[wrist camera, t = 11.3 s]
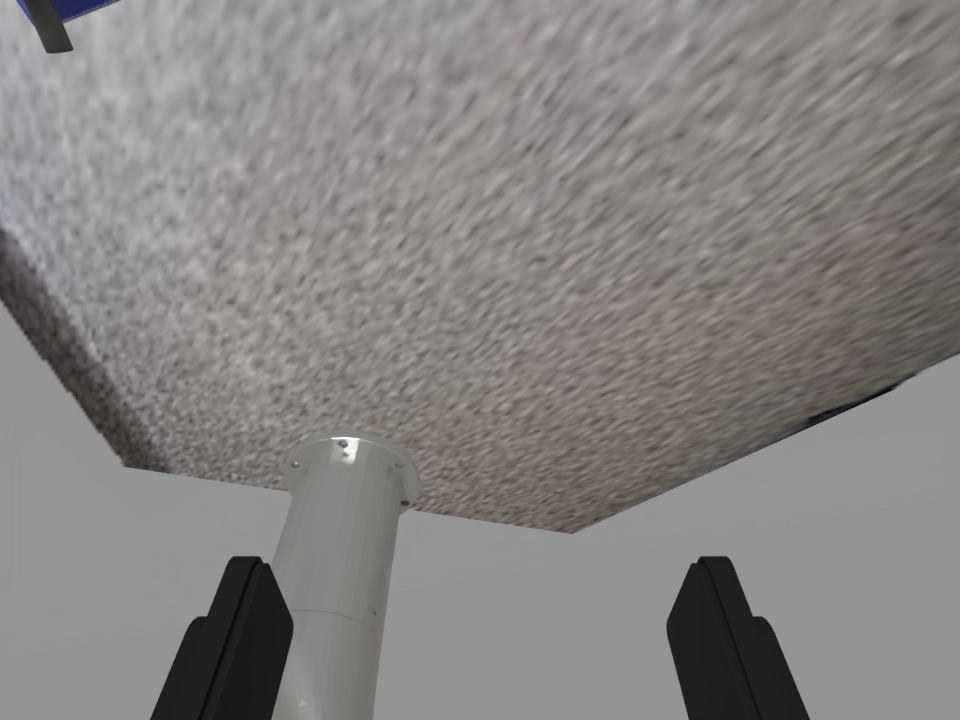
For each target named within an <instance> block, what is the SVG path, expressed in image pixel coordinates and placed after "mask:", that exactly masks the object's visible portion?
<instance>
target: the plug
mask: <svg viewBox="0 0 960 720" xmlns="http://www.w3.org/2000/svg"><path fill="white" fill-rule="evenodd" d="M23 2H24V4H25V6H26V9H27V11H28V13H29V15H30V18H31V20H32V22H33V24H34V26H35V29H36V31H37V33H38V35H39V38H40V40H41V42H42V44H43V46H44V49H45V51H46V53H50V54H54V53H64V52H70V51H73V50H74V49H73V46H72V44H71V41H70V39H69V37H68V34H67V32H66V30H65V27H64V25H63V22H62V20H61V18H60V15H59V13H58V11H57V8H56V6H55V4H54V1H53V0H23Z"/></svg>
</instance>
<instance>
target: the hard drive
mask: <svg viewBox="0 0 960 720" xmlns="http://www.w3.org/2000/svg"><path fill="white" fill-rule="evenodd" d="M16 1H17V3H18V4H19V6H20V7H21V9H22V10H23V11H24V13H25V14H26V16H27V17H28V19H29V20H30V22H31V23H32V24H33V22H32V20H31V18H30V15H29V13H28V11H27V9H26V6H25V4H24V2H23V0H16ZM53 1H54V4H55V6H56V8H57V11H58V13H59V15H60V18H61V20H62V22H63V24H64V23H67V22H69V21H72V20H74V19H77V18H79V17H82V16H84V15H87V14H89V13H92V12H94V11H97V10H99V9H102V8H104V7H107V6H109V5H111V4H114V3H116V2H119V1H121V0H53ZM33 26H34V24H33ZM34 27H35V26H34Z"/></svg>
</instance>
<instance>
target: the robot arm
mask: <svg viewBox="0 0 960 720" xmlns="http://www.w3.org/2000/svg"><path fill="white" fill-rule="evenodd" d="M283 480H284V483H285V486H286V488H287V490H288V491H289V493H290V495H291V496H292V497H293V499H292V502H291V505H290V508H289V511H288V514H287V517H286V520H285V524H284V527H283V530H282V533H281V536H280V539H279V542H278V546H277V549H276V552H275V555H274V558H273V561H272V564H271V567H270V565H269V563H263V561H262V559H261V557H259V556H233V557H232V558H231V559H230V560H229V561H228V563H227V566H226V568H225V571H224V573H223V576H222V578H221V581H220V584H219V586H218V589H217V591H216V594H215V597H214V599H213V602H212V604H211V607H210V609H209V612H208V615H207V616H198V617H196V618H195V619H194V620H193V621H192V622H191V623H190V625H189V626H188V628H187V630H186V632H185V634H184V637H183V639H182V642H181V644H180V647H179V649H178V652H177V654H176V657H175V659H174V661H173V664H172V666H171V669H170V671H169V674H168V676H167V679H166V681H165V683H164V686H163V688H162V691H161V693H160V696H159V698H158V701H157V703H156V706H155V708H154V710H153V713H152V715H151V718H150V720H373V716H374V703H375V695H376V686H377V677H378V670H379V662H380V654H381V647H382V639H383V632H384V624H385V617H386V609H387V602H388V595H389V587H390V580H391V572H392V565H393V557H394V550H395V542H396V535H397V527H398V520H399V515H401V514H402V513H404V512H405V511H407V510H408V509H409V508H410V507H411V506H412V505H413V503H414V502H415V501H416V499H417V496H418V493H419V487H420V475H419V471H418V469H417V466H416V464H415V463H414V461H413V460H412V458H411V457H410V456H409V455H408V454H407V453H406V452H405V451H404V450H403V449H401V448H400V447H398V446H397V445H395V444H394V443H392V442H390V441H388V440H385V439H383V438H381V437H378V436H375V435H372V434H368V433H363V432H357V431H342V430H340V431H330V432H324V433H320V434H316V435H313V436H311V437H309V438H307V439H304V440H303V441H302V442H300V443H299V444H297V445H296V446H295V447H294V448H293V450H292V451H291V452H290V454H289V456H288V458H287V460H286V463H285V467H284V470H283ZM666 630H667V637H668V641H669V645H670V649H671V653H672V656H673V660H674V664H675V668H676V672H677V676H678V680H679V684H680V687H681V691H682V695H683V699H684V703H685V707H686V711H687V715H688V719H689V720H810V718H809V715H808V713H807V710H806V708H805V706H804V703H803V701H802V698H801V696H800V693H799V691H798V688H797V686H796V683H795V681H794V679H793V676H792V674H791V671H790V669H789V666H788V664H787V661H786V659H785V657H784V654H783V652H782V649H781V647H780V644H779V642H778V639H777V637H776V634H775V632H774V630H773V628H772V626H771V625H770V624H769V622H768V621H767V620H766V619H765V618H764V617H762V616H753V615H752V612H751V609H750V607H749V604H748V602H747V599H746V597H745V594H744V591H743V589H742V586H741V584H740V581H739V578H738V576H737V573H736V571H735V568H734V566H733V563H732V561H731V560H730V559H729V558H728V557H727V556H701V557H699V559H698V561H697V563H692V564H691V565H690V567H689V569H688V572H687V574H686V577H685V579H684V581H683V584H682V586H681V588H680V591H679V593H678V596H677V598H676V601H675V603H674V605H673V607H672V610H671V612H670V615H669V617H668V619H667V624H666Z"/></svg>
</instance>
